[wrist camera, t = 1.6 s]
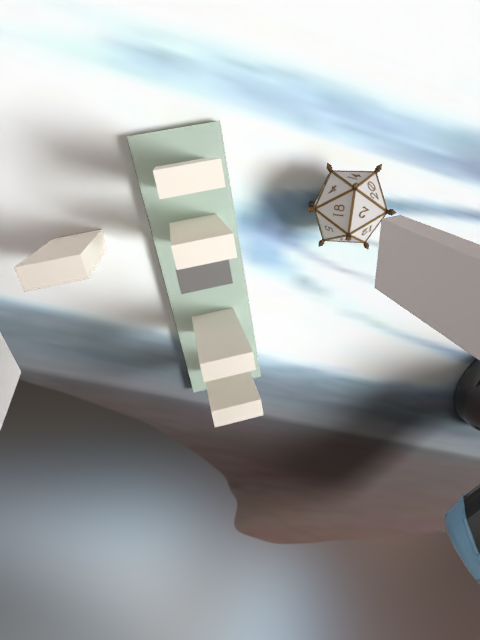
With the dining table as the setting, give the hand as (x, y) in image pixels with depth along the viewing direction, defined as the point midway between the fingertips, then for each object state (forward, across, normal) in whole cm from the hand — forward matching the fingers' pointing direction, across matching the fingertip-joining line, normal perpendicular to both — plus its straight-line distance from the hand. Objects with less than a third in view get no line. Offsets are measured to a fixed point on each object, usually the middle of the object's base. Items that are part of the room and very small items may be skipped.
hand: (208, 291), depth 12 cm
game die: (+27, -20, +6) cm, 34 cm away
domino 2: (+28, -3, +1) cm, 28 cm away
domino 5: (+26, -4, +22) cm, 34 cm away
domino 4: (+26, -4, +17) cm, 32 cm away
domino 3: (+28, -4, +6) cm, 28 cm away
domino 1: (+30, +8, +6) cm, 31 cm away
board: (+28, -4, +12) cm, 30 cm away
